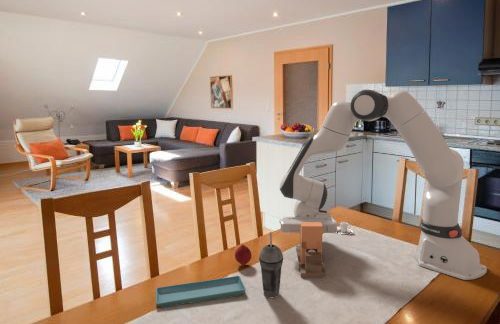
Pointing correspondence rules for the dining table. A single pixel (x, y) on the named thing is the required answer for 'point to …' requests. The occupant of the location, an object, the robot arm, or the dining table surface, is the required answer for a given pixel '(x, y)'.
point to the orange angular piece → (310, 238)
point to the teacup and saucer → (344, 227)
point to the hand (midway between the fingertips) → (310, 233)
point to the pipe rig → (311, 263)
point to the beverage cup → (271, 268)
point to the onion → (243, 254)
